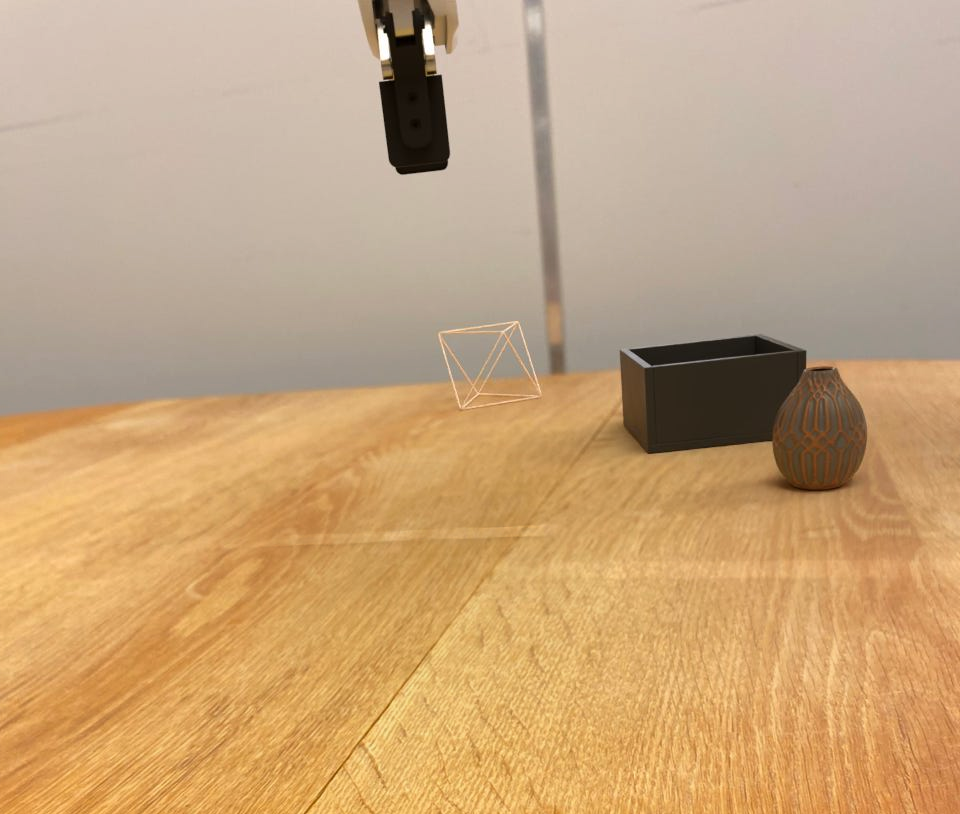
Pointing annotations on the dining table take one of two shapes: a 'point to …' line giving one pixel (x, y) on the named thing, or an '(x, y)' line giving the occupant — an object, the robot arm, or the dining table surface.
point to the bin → (707, 391)
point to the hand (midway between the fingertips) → (421, 168)
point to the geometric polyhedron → (486, 363)
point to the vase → (819, 432)
